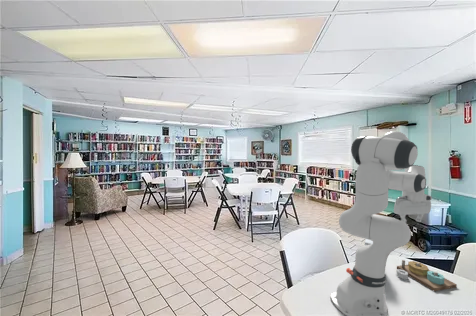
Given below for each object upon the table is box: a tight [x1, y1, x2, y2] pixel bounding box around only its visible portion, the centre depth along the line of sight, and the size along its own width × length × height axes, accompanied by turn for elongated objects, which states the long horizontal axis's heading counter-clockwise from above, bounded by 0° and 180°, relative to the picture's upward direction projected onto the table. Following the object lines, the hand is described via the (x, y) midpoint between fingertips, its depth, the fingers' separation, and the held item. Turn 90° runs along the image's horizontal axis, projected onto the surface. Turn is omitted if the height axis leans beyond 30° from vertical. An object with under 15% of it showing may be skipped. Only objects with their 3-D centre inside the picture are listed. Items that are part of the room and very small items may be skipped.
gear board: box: [396, 259, 458, 292], centre depth 114 cm, size 14×19×6 cm
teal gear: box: [427, 270, 445, 285], centre depth 109 cm, size 6×6×3 cm
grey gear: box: [395, 269, 409, 280], centre depth 114 cm, size 4×4×2 cm
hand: (411, 222), depth 115 cm, fingers open, 8 cm apart
